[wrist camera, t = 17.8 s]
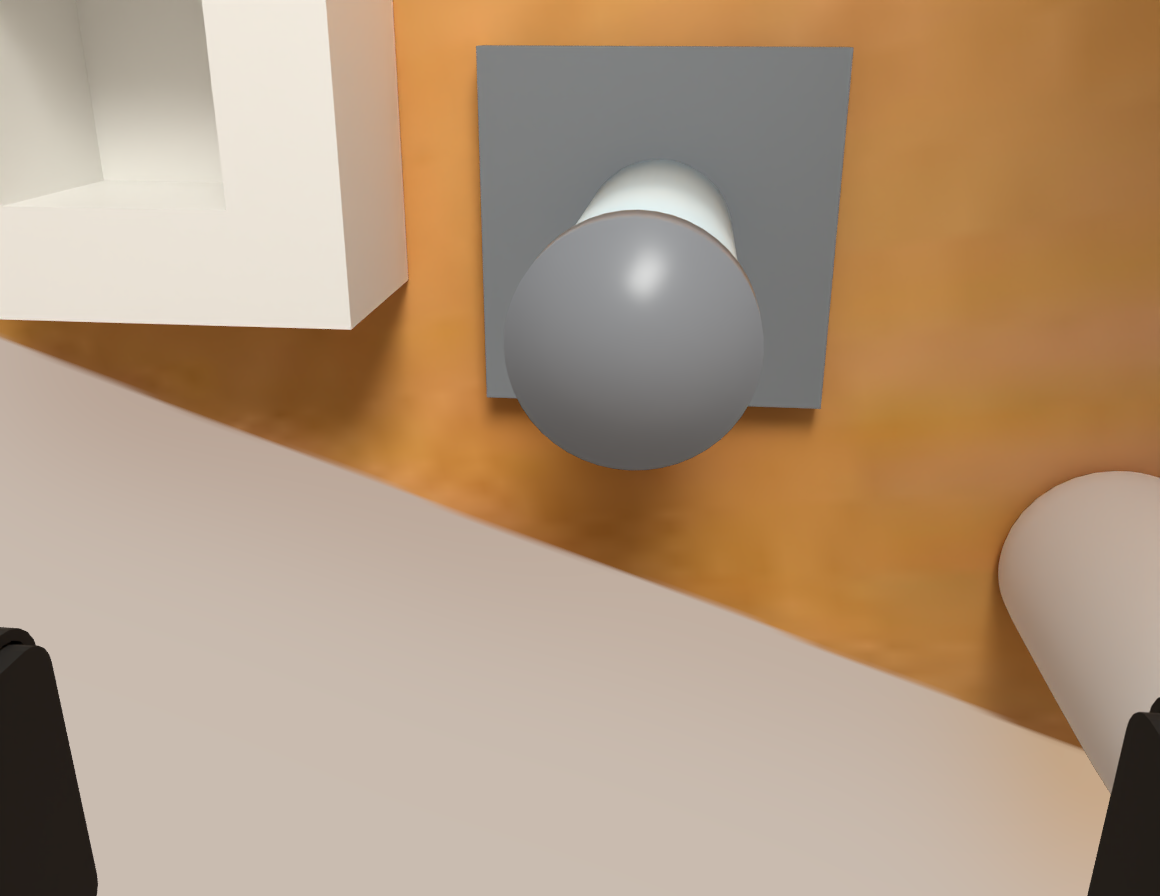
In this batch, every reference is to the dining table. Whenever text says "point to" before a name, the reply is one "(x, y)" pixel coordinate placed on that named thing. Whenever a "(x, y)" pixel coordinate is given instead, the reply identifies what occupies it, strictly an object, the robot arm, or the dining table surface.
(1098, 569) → the milk bottle
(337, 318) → the housing
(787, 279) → the mat
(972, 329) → the dining table surface
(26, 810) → the robot arm
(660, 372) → the cartridge
